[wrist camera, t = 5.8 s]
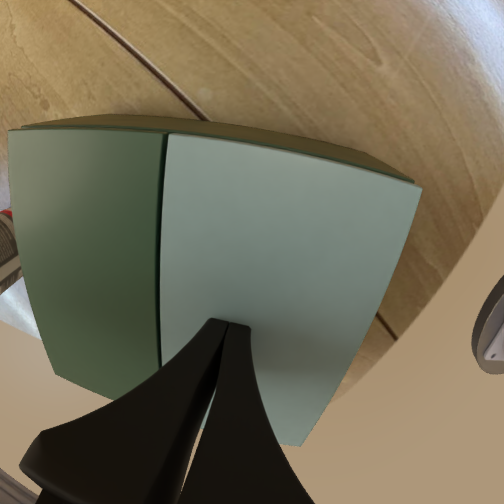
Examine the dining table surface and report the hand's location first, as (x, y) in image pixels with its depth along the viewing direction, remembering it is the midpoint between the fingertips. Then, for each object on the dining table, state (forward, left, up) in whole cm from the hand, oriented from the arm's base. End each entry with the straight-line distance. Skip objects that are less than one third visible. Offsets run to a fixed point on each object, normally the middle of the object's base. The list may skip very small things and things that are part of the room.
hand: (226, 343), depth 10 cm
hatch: (-1, 0, 0) cm, 1 cm away
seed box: (+2, 0, -7) cm, 8 cm away
